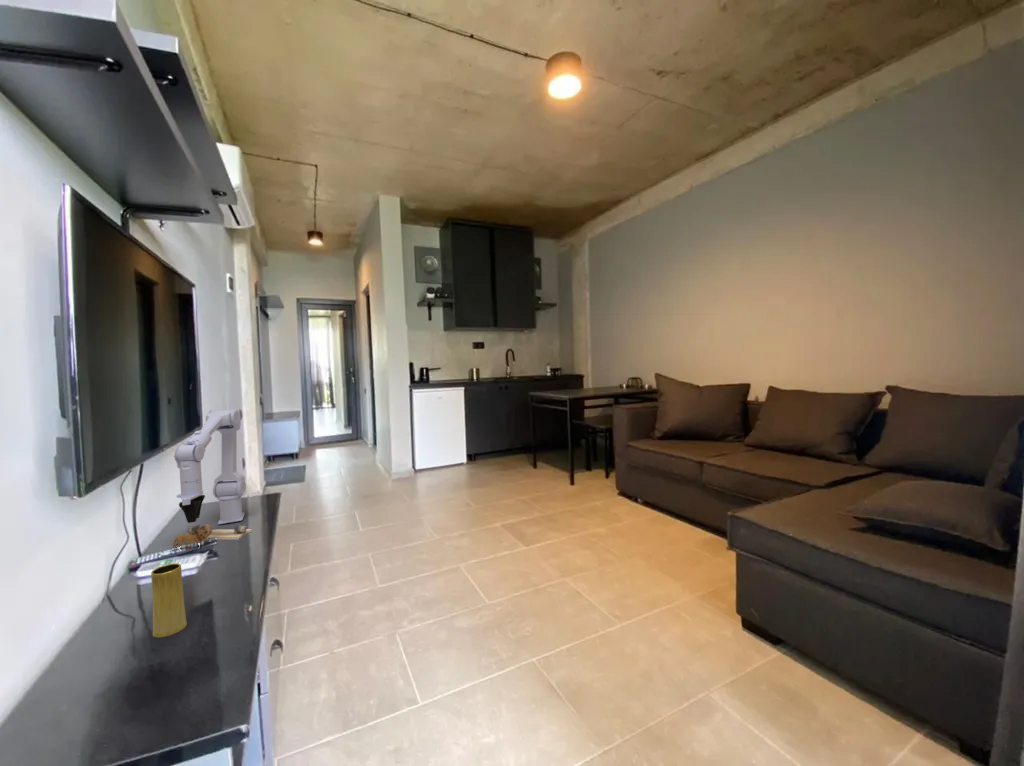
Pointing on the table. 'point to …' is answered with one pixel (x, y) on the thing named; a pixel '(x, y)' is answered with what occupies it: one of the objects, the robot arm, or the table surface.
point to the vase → (168, 600)
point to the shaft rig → (224, 532)
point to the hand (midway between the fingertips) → (193, 520)
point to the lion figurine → (194, 536)
